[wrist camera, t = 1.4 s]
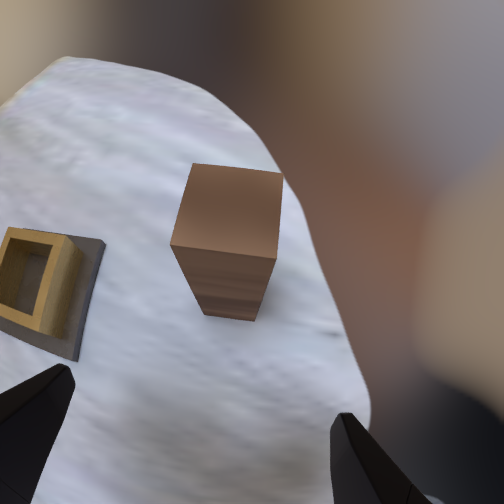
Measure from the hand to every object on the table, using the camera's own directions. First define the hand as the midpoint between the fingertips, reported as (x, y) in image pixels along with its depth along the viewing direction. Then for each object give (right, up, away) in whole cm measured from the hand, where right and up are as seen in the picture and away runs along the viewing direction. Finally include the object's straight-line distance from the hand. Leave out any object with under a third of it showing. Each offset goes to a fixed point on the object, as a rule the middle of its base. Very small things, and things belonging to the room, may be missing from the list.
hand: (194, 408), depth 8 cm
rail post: (0, +1, +15) cm, 16 cm away
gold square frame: (-18, +1, +14) cm, 23 cm away
